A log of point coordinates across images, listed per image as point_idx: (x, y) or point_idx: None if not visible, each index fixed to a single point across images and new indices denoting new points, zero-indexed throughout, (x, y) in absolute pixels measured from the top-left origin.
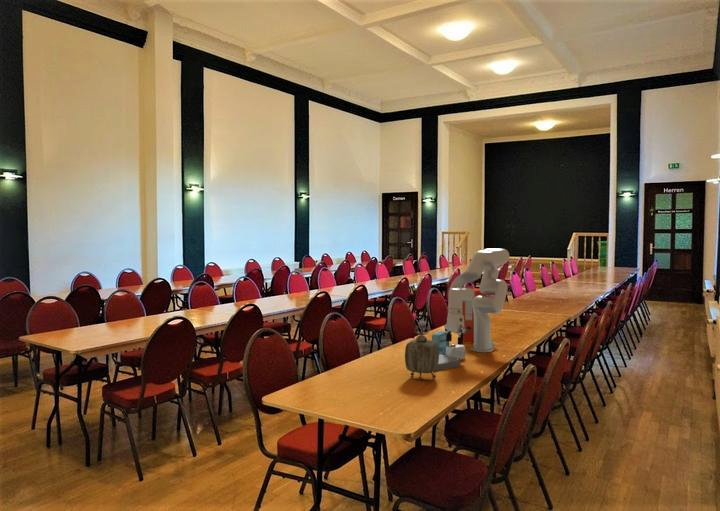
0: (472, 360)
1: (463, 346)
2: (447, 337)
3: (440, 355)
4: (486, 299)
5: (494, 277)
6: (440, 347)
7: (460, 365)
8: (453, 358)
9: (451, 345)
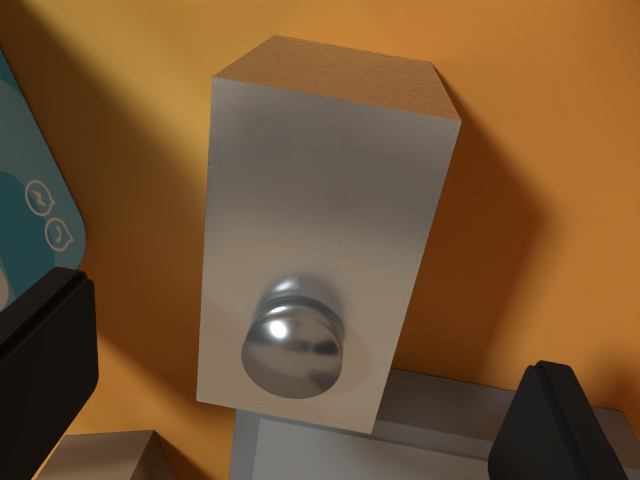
0: (600, 57)
1: (447, 170)
2: (40, 458)
3: (289, 447)
4: None
5: None
6: (2, 269)
7: (627, 421)
8: None
9: (285, 387)
